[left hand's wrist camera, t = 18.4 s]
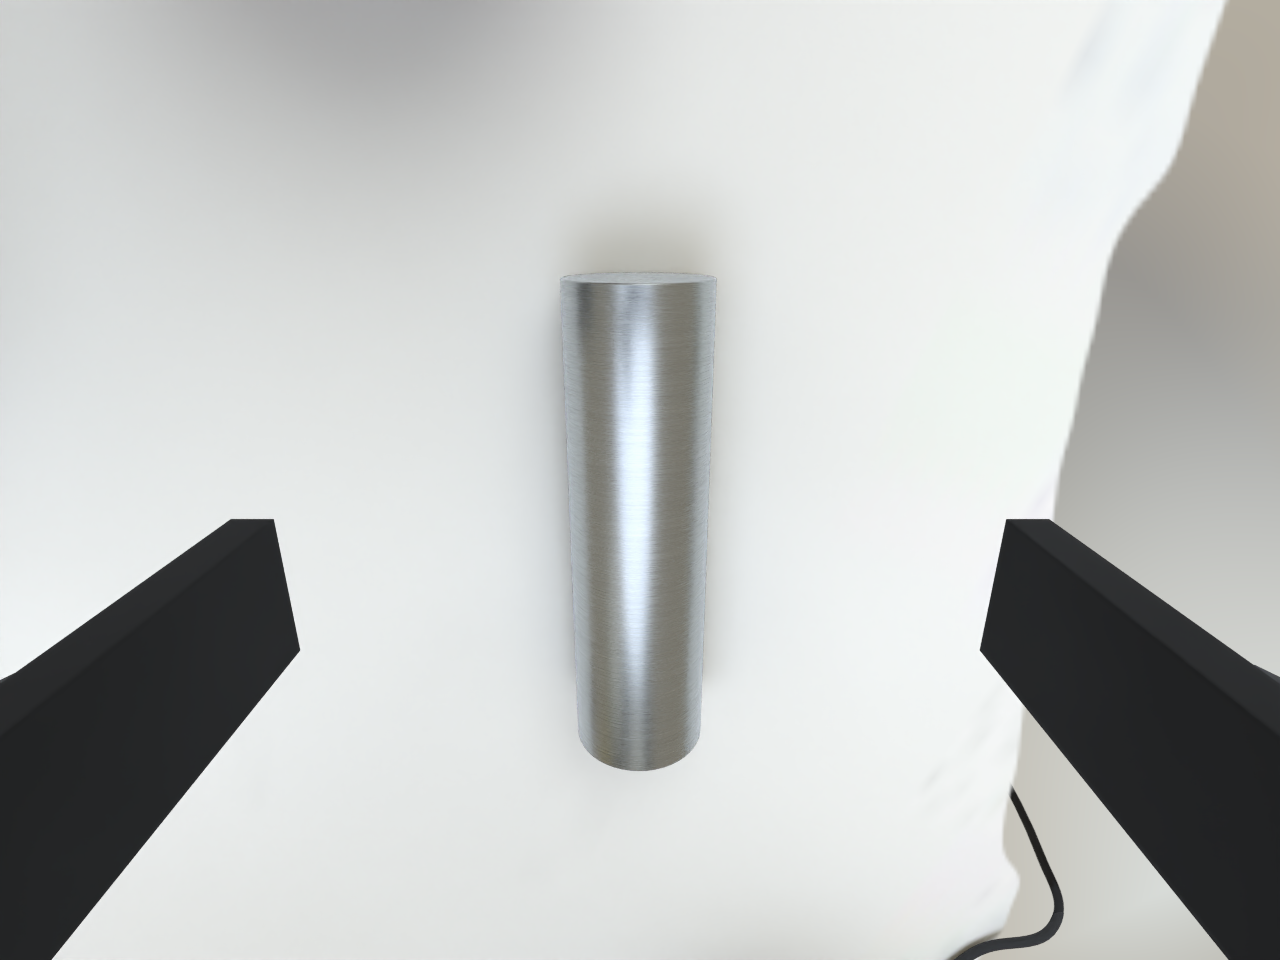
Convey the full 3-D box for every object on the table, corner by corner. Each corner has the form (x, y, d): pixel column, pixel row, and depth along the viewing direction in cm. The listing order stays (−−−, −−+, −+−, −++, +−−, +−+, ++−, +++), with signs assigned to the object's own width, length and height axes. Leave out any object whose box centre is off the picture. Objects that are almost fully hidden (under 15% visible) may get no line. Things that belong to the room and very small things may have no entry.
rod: (568, 272, 37) (550, 283, 30) (709, 272, 37) (724, 283, 30) (583, 687, 47) (572, 771, 40) (695, 687, 47) (705, 771, 40)
